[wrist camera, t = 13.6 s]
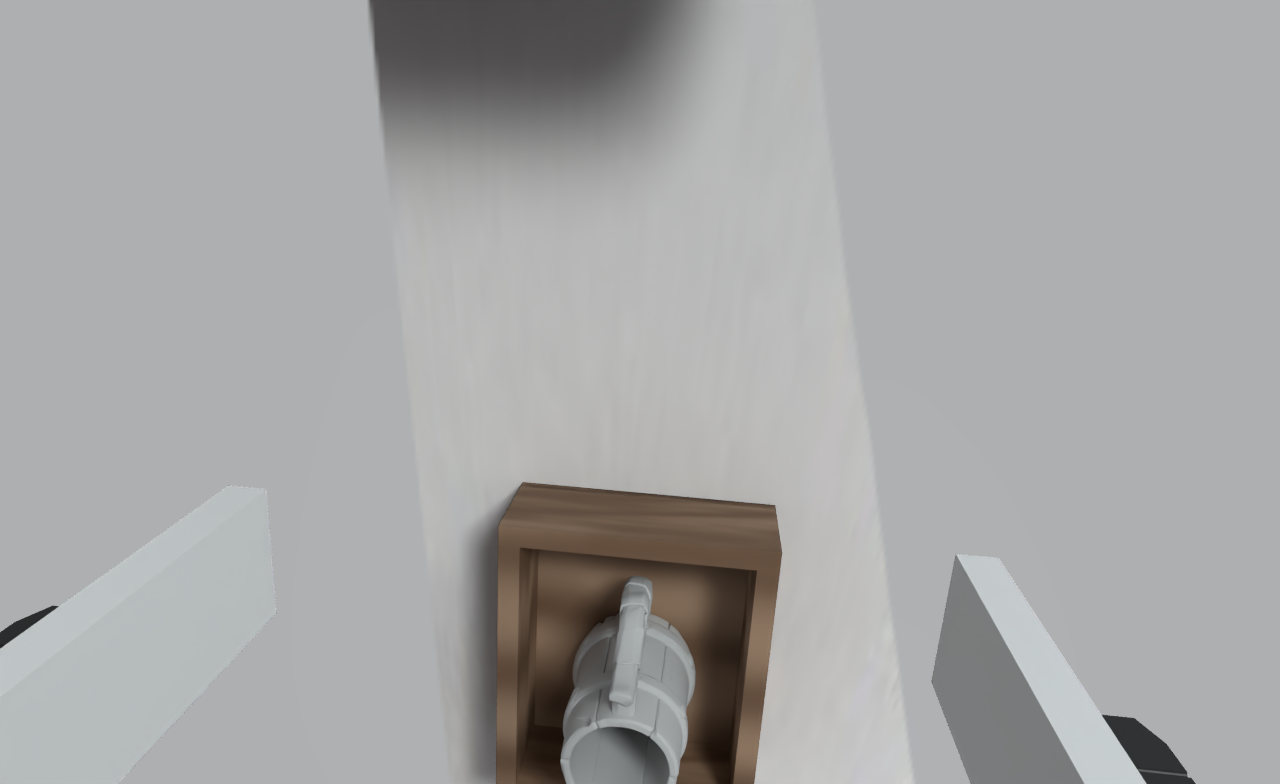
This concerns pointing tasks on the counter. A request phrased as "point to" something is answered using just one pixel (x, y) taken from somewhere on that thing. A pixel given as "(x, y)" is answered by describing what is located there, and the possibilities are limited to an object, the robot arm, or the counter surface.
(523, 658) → the wooden box
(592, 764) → the mug
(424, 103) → the counter surface
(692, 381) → the counter surface
